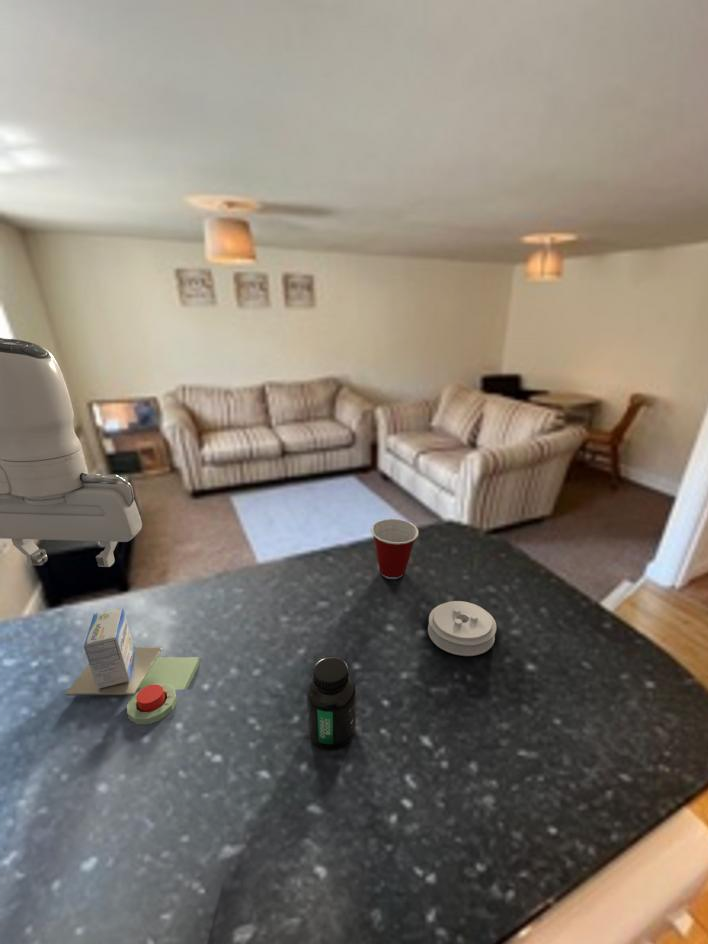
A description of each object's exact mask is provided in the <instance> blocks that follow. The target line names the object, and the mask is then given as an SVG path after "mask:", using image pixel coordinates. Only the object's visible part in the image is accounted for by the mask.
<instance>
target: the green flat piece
mask: <svg viewBox="0 0 708 944" xmlns="http://www.w3.org/2000/svg"><path fill="white" fill-rule="evenodd" d="M200 663H201V659H200V657H197V656H196V657H193V656H191V657H189V656H188V657H185V656H184V657H182V656H181V657H174V656H173V657H171V656H169V657H168V656H167V657H166V656H163V657H162V656H160V657H159V656H158V657H157V658H156V660H155V662H154V663H153V665H152V667H151V668H150V670H149V672H148V673H147V675H146V677H145V678H144V680H143V681H142V683H141V685H140V686H139V688H138V690H137V691H136V693H135V695H131V698H130V699H129V701H128V702H127V704H126V712H127V717H128V720H129V721H131V722H133V723H134V724H136V725H151V724H154V723H156V722H159V721H161V720H163V719H165V718H166V717H168V715H169V714H170V713H172V712H173V711H174V709H175V707H176V706H177V703H178V698H177V693H176V690H188V689H189V687H190V685H191V684H192V683H191V682H192V680H193V679H194V676H195V674H196V672H197V670H198V668H199V665H200ZM154 684H156V685H160V686H162V687H163V690H164V694H165V701H164V703H163V705H162V706H161V707H159V708H158V709H156V710H154V711H151V712H143V711H141V710H140V709H139V707H138V703H137V700H136V696H137V694H138V692H139V691H140V690H141V689H143V688H144V687H146V686H149V685H154Z"/></svg>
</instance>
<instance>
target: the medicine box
mask: <svg viewBox="0 0 708 944" xmlns="http://www.w3.org/2000/svg"><path fill="white" fill-rule="evenodd" d="M134 647H135V646H134V642H133V638H132V635H131V631H130V627H129V624H128V620H127V615H126V613H125V610H124V608H119V609H112V610H105V611H100V612H96V613H94V614H93V615H92V619H91V621H90V624H89V628H88V632H87V635H86V638H85V641H84V644H83V650H84V653H85V657H86V659H87V662H88V664H89V665H90V668H91V671H92V674H93V677H94V680H95V683H96V686H97V688H98V689H99V688H103V687H108V686H112V685H116V684H120V683H123V682H128V681H129V680H130V673H131V667H132V660H133V654H134Z"/></svg>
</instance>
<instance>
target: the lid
mask: <svg viewBox="0 0 708 944" xmlns="http://www.w3.org/2000/svg"><path fill="white" fill-rule="evenodd" d="M427 633H428V636H429V638H430V640H431V642H432V643H433V644H434V645H436V647H437V648H439V649H441V650H442V651H445V652H447V653H449V654H453V655H456V656H461V657H462V656H463V657H473V656H478V655H482V654H485V653H487V652H488V651H490V649H491V648H492V647H493V646H494V643H495V640H496V638H495V637H496V633H497V623H496V620H495V619H494V617H493V615H491V614H490V613H489V612H488V611H487V610H486V609H484V608H483V607H481V606H479V605H477V604H475V603H472V602H468V601H463V600H454V601H447V602H443V603H441V604H439V605H437V606H436V607H434V608H432V610H431V611H430V612H429V616H428V625H427Z"/></svg>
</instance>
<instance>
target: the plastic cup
mask: <svg viewBox="0 0 708 944" xmlns="http://www.w3.org/2000/svg"><path fill="white" fill-rule="evenodd" d="M370 532H371V534H372V536H373V541H374V546H375V551H376V552H375V553H376V557H377V558H376V560H377V563H378V570H379V573H380V572H381V573H382V574H383V575H385V576H388V577H399V576H401V575H403V574H404V573H405V574H406V572H407V571H406V570H407V566H408V564H409V560H410V557H411V553H412V548H413V546H414V543H415V541H416V539H417V538H418V537H419V529H418V528H417V527H416V525H415V524H414V523H411V522H410V521H407V520H405V519H402V518H401V519H400V518H382V519H380V520H378V521H376V522H374V523H373V524H372V525H371V527H370ZM405 574H404V575H405Z"/></svg>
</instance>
